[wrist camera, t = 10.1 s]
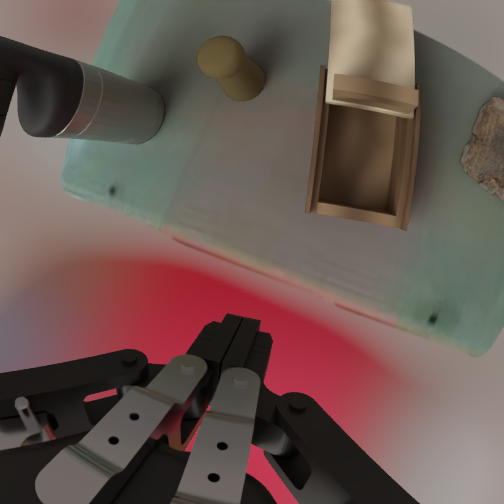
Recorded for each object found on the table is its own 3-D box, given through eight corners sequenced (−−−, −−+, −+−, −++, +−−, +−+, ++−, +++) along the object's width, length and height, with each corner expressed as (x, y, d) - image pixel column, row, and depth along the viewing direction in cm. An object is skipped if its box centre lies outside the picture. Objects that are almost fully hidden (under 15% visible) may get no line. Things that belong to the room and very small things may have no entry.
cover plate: (325, 103, 28) (325, 89, 24) (331, -4, 24) (331, -27, 20) (411, 119, 26) (424, 109, 22) (409, 10, 23) (418, -10, 18)
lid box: (308, 206, 38) (304, 212, 31) (322, 86, 34) (320, 65, 26) (391, 220, 36) (406, 230, 28) (404, 101, 32) (421, 84, 24)
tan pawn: (272, 90, 36) (253, 60, 25) (231, 108, 37) (199, 87, 27) (255, 55, 35) (231, 19, 24) (215, 73, 37) (181, 45, 26)
